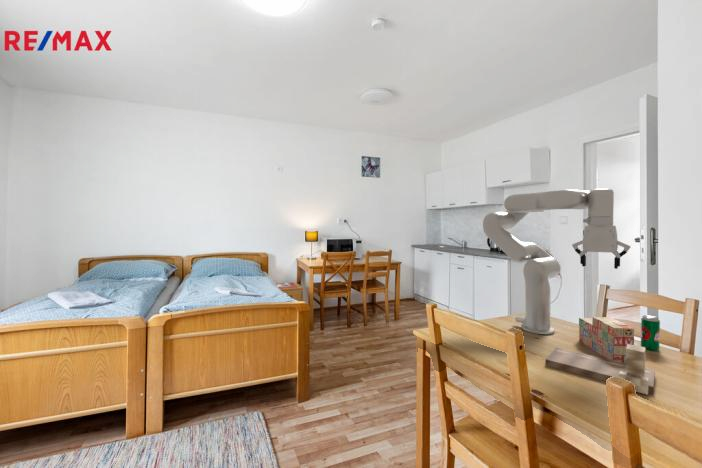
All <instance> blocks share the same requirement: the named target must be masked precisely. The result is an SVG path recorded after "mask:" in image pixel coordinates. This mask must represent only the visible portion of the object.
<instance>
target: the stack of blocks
mask: <svg viewBox="0 0 702 468" xmlns="http://www.w3.org/2000/svg"><path fill="white" fill-rule="evenodd" d="M578 328H579V329H578V337H579V338H578V339H579V341H580V342H581V343H583V344H584V345H586V346H587V347H588V348H590V349H592V350H594V351H595V352H596V353H597V354H599V355H600V356H602V358H604V359H609V360H613V361H617V362H622V363H626V347H627V344H630V345H635V328H634V327H632V326H629V325H628V324H626V323H625V322H621V321H620V320H617V319H615V318H612V317H607V316H602V317H600V316H592V317H579V318H578Z"/></svg>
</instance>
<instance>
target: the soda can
mask: <svg viewBox="0 0 702 468" xmlns="http://www.w3.org/2000/svg"><path fill="white" fill-rule="evenodd" d="M640 321H641V322H640V346H641V347H646V348H645V351H650V352H658V351H659V350H660V343H661V341H660V336H661V335H660V333H661V329H660V328H661V320H660V319H659V317H657V316H654V315H649V314H648V315H642V317H641V319H640Z"/></svg>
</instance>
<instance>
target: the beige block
mask: <svg viewBox="0 0 702 468" xmlns="http://www.w3.org/2000/svg"><path fill="white" fill-rule="evenodd" d="M645 348H646V347H641V345H635V344H634V345H630V344H627V347H626V369H628V371H627V373H626V372H622V371H620V373H619V377H620V378H623V379H625V380H628V381H631V382H632V383H633V384H634V385H635V390H636V392H637V393H639V394H643V395H647V396H649V395H648V394H649V393H648V378H646V377H642V375H643V373H644V371H645V368H646V349H645ZM636 392H635V393H636Z"/></svg>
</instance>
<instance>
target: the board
mask: <svg viewBox="0 0 702 468" xmlns="http://www.w3.org/2000/svg"><path fill="white" fill-rule="evenodd" d="M545 366H547V367H551V368H555V369H559V370H562V371H566V372H570V373H573V374H577V375H580V376H584V377H587V378H588V377H589V378H592V379H595V380H598V381H602V380H603V381H602V382H606V380H607V379H608V378H610V377H612V376H617V377H619V373H620V371H622V372H626V373H627V371H628V369H626V363H622V362H617V361H613V360H609V359H606V358H605V357H598V356H596V355H590V354H587V353H582V352H578V351H574V350H569V349H566V348H560V347H554V349H553V350H552V351H551V352H550V353H549V355H548V356H546V358H545ZM642 377H646V378H648V394H651V395H653V394H654V390H655V381H656V380H655V379H656V369H651V368H648V367H645V371H644V373H643V375H642Z"/></svg>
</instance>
